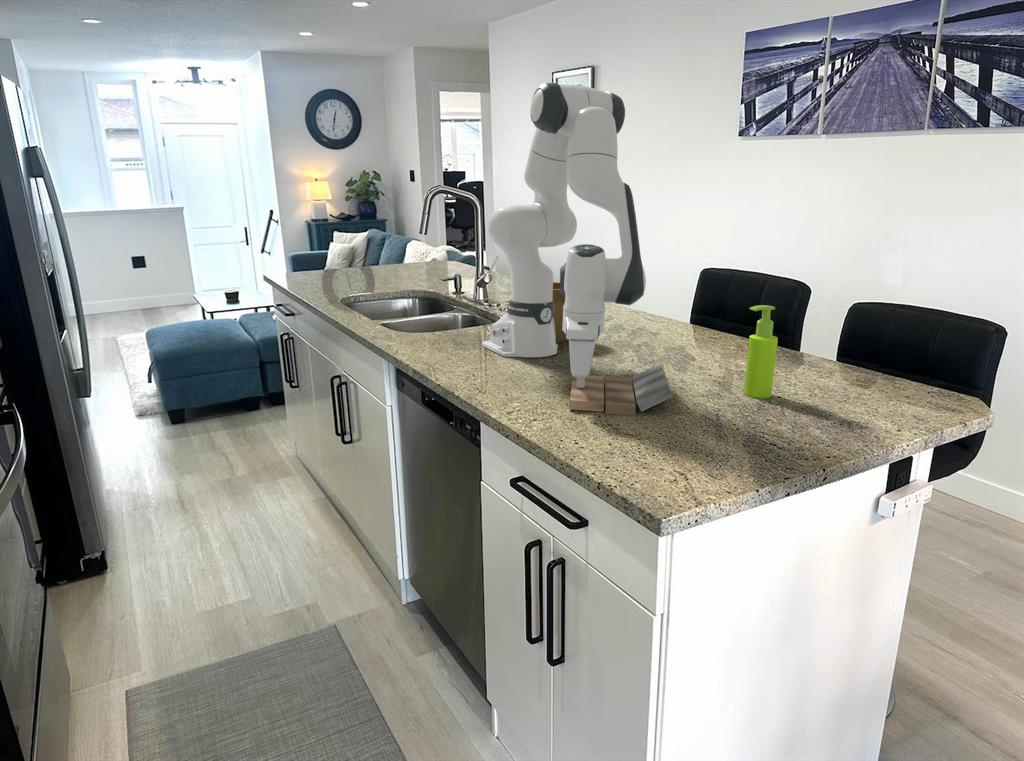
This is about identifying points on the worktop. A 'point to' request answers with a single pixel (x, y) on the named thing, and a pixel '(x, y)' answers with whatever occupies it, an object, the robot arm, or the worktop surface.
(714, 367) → the worktop surface
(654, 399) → the grey plank
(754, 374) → the soap dispenser
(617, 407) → the walnut strip
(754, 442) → the worktop surface
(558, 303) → the plant pot
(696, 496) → the worktop surface
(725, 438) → the worktop surface
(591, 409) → the smoked oak plank
